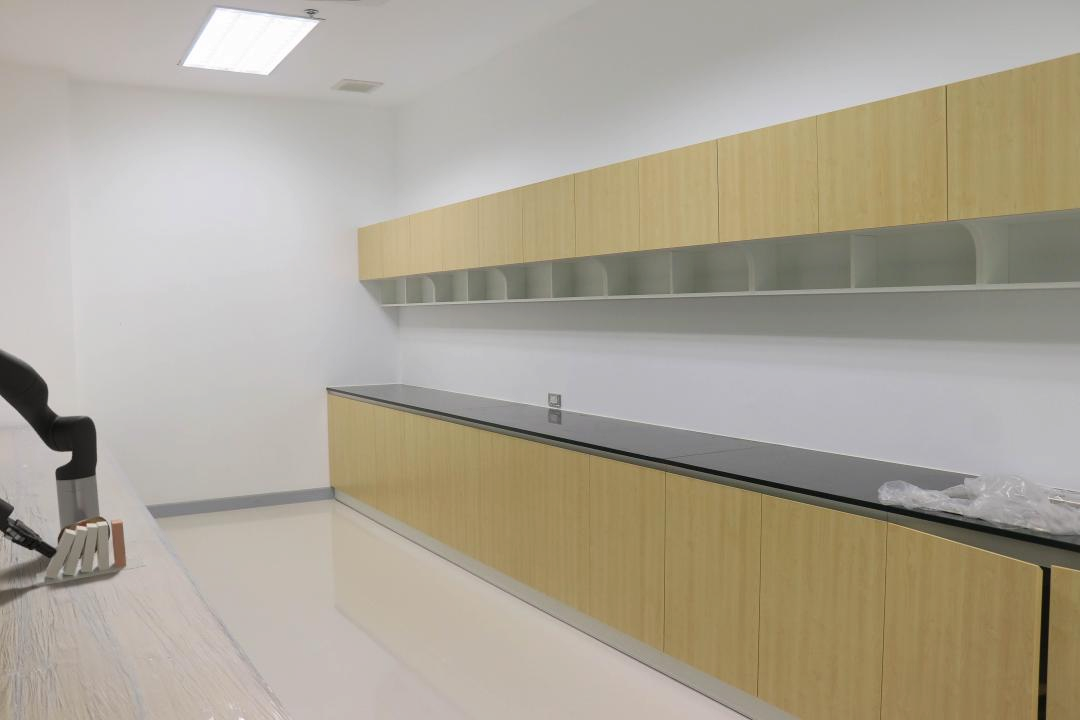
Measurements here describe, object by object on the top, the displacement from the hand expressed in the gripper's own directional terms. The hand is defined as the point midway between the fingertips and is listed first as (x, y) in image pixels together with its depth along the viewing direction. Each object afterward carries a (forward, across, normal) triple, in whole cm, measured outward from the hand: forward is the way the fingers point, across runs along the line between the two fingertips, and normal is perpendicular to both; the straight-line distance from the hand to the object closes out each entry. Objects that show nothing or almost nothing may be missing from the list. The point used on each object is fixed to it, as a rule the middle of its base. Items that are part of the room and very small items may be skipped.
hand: (53, 554), depth 183 cm
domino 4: (+10, 0, -3) cm, 11 cm away
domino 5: (+13, 0, -6) cm, 14 cm away
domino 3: (+8, 0, -1) cm, 8 cm away
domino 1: (+2, 0, +4) cm, 5 cm away
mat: (+9, 0, -1) cm, 9 cm away
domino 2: (+5, 0, +2) cm, 5 cm away
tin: (+9, +20, -1) cm, 22 cm away
